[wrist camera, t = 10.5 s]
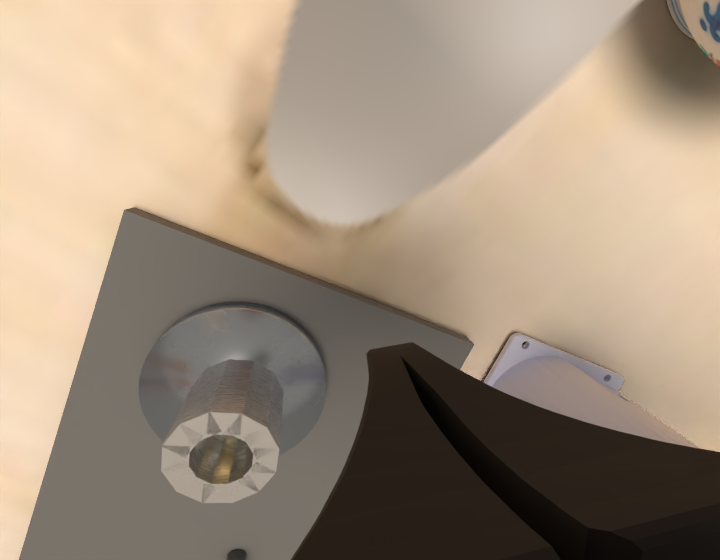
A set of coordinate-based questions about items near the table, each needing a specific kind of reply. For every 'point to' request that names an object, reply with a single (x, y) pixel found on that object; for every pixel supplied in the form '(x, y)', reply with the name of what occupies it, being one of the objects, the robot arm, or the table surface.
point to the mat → (144, 448)
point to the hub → (239, 342)
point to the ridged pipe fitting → (226, 434)
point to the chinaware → (699, 23)
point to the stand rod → (237, 554)
